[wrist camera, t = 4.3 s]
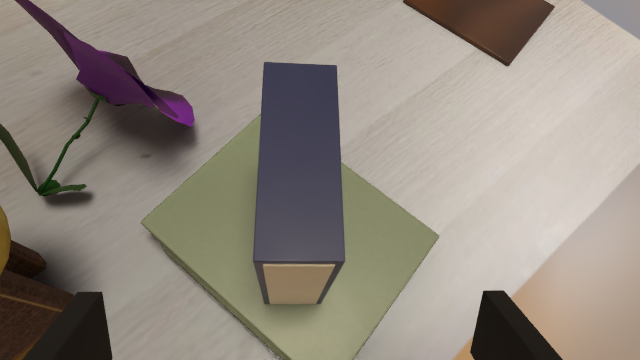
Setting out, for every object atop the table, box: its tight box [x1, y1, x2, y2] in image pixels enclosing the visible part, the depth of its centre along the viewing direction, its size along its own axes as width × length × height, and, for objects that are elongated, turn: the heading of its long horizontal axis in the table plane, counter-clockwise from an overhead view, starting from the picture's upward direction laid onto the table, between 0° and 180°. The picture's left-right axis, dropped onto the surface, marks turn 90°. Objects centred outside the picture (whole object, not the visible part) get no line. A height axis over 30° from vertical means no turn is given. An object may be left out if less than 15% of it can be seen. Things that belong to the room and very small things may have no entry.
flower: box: [0, 0, 194, 196], centre depth 31 cm, size 15×15×14 cm
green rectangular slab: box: [141, 114, 439, 360], centre depth 32 cm, size 18×15×3 cm
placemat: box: [403, 0, 555, 66], centre depth 47 cm, size 14×12×1 cm
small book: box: [253, 62, 345, 304], centre depth 25 cm, size 4×11×12 cm, turn 1°
